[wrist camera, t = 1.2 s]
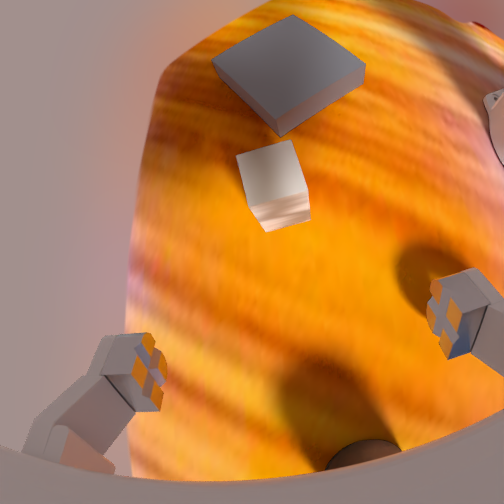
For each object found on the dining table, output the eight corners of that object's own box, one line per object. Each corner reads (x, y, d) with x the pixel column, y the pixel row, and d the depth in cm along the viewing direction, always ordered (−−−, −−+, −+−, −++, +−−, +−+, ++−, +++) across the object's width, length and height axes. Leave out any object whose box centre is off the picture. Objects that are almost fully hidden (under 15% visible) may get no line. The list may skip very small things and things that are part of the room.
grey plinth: (295, 33, 39) (292, 14, 35) (363, 83, 35) (365, 64, 31) (219, 77, 40) (211, 59, 36) (280, 137, 36) (275, 119, 32)
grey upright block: (298, 178, 35) (291, 139, 26) (310, 220, 34) (308, 190, 25) (255, 191, 35) (235, 155, 27) (266, 232, 34) (248, 206, 26)
